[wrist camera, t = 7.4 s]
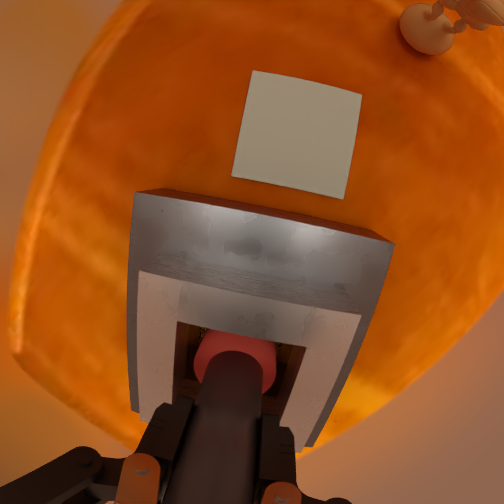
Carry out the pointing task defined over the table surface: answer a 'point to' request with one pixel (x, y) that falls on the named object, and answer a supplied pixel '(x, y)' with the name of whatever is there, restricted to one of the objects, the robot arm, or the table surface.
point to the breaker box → (248, 299)
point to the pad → (297, 134)
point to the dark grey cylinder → (221, 436)
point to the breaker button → (228, 341)
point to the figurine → (446, 22)
